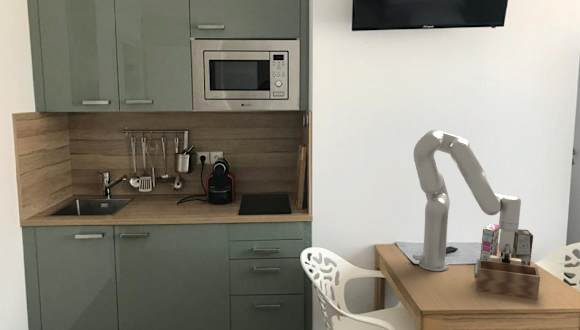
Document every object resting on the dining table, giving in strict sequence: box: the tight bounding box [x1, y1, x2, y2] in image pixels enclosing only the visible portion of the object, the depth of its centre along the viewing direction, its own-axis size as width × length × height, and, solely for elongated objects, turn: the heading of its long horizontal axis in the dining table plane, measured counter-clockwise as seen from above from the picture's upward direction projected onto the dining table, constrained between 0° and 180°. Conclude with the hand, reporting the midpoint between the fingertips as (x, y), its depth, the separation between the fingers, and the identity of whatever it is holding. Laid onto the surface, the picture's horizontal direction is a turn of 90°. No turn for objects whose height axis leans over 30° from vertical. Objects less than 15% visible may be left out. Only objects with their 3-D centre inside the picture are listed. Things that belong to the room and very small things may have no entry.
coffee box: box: [510, 228, 534, 266], centre depth 222 cm, size 9×6×16 cm
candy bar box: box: [479, 223, 500, 261], centre depth 228 cm, size 11×5×16 cm, turn 144°
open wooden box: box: [475, 258, 541, 300], centre depth 199 cm, size 22×11×9 cm, turn 69°
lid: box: [474, 255, 522, 277], centre depth 212 cm, size 23×12×8 cm, turn 69°
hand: (504, 264), depth 212 cm, fingers open, 9 cm apart
